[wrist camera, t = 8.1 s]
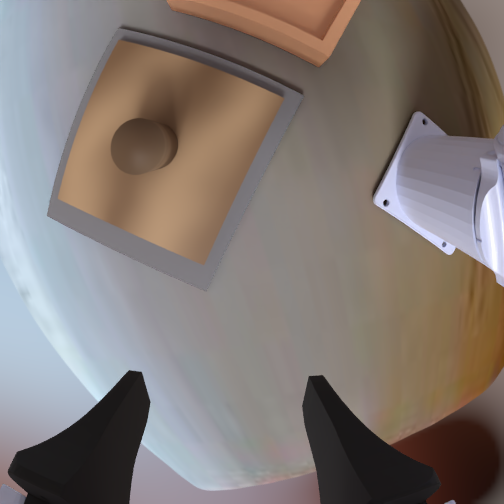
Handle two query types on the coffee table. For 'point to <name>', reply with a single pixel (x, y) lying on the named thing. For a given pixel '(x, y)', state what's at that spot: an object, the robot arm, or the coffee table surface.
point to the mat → (204, 273)
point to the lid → (166, 147)
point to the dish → (280, 22)
